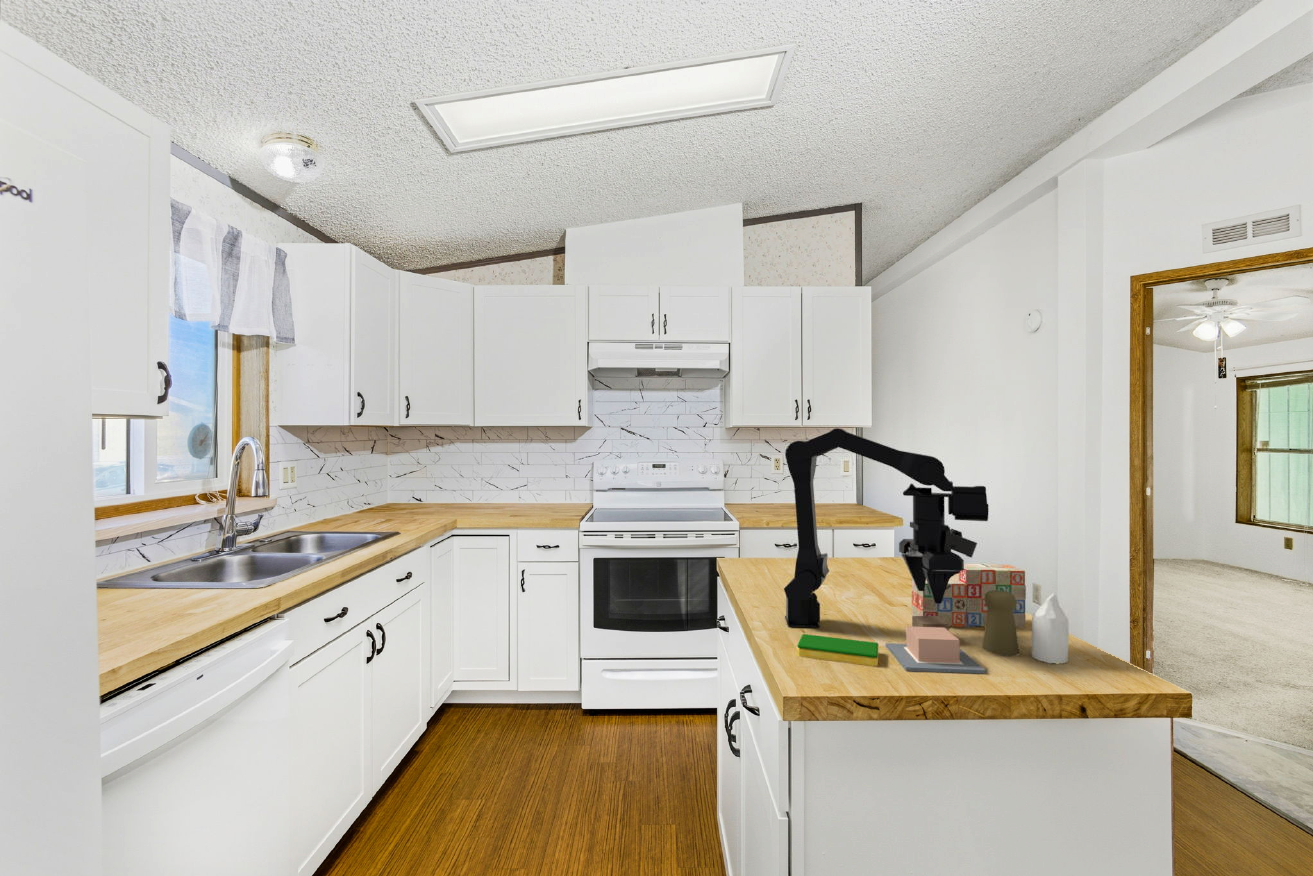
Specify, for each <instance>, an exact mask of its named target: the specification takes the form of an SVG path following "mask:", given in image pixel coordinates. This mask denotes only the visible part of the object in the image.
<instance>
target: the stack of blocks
mask: <svg viewBox="0 0 1313 876" xmlns="http://www.w3.org/2000/svg"><path fill="white" fill-rule="evenodd" d="M992 590H1000V591H1005V592H1009V593H1011V594H1013V595H1014V596H1015V598H1016V608H1015V609H1014V610H1013V614H1014V620H1015V627H1016V628H1026V624H1027V623H1026V599H1027V598H1026V597H1027V594H1026V593H1027V586H1026V571H1025V570H1023V569H1021V568H1019V567H1016V566H1013V565H1010V564H996V563H964V570H963V571H960V573H959V574H955V575H954V576H952V577H951V578H950V579H949V582H948V584H947V587H946V590H945V593H944V596H943V599H942V602H941V603H940V604H936V603H935V602H934V600H933V597H932V594H931V591H930V588H929V586H928V583H927V580H926V582H925V588H924V591H918V589H917V587H916V585H915V582H914V580H913V578H912V577H911V616H938V617H939V618H941V619H942V620H944V621H945V622H947V623H948V624H949V627H975V626H986V619H987V612H988V607H987V606H986V604H985V594H986V593H987V592H988V591H992Z"/></svg>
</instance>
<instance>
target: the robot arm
mask: <svg viewBox="0 0 1313 876" xmlns="http://www.w3.org/2000/svg"><path fill="white" fill-rule="evenodd" d="M837 448H839V449H842V450H845V451H848V452H851V453H854V454H856V455H859V456H861V457H864V458H867V459H870V460H871V461H875V462H877V463H880V464H884V465H886V466H888V467H891V468H893V469H895V470H897V471H898V472H900V473H902V474H903V475H904V476H907V477H909V478H910V479H912V480H913V481H916V482H917V483H918V484H921V485H924V486H927V487H918V486H917V487H916V486H915V485H914V484H913V483H910V484H909V486H908V487H907V488H906V489H905V490H903V492H902V495H903V496H904V497H905V496H907V497H908V496H909V497H910V496H911V497H912V521H910V522H909V527H910V528H911V529H912V538H903V539H902V540H901V541H899V543H898V552H899V553H901V557H902V559H903V561H904V563H905V564H906V567H907V569H908V571H909V573H910V575H911V579H912V578H913V580H914V582H915V585H916V587H917V589H918V591H924V588H925V582H926V580H927V583H928V586H929V588H930V591H931V594H932V597H933V600H934V602H935V603H936V604H940V603H941V602H942V599H943V596H944V593H945V590H946V587H947V584H948V582H949V579H950V578H951V577H953V576H954V575H955V574H959V573H960V571H963V570H964V564H965V563H964V562H965V560H964V559H963V558H962V557H961V556H960V555H959V554H957V553H960V554H962V555H964V556H966V557H968V558H971V559H972V558H973V556H974V552H976V548H977V545H978V542H976V541H974V540H970V539H968V538H966V537H963V532H962V531H960V530H956V529H954V528H951V527H950V526H949V525H948V524H946V523H945V521H946V519H945V513H946V512H945V511H946V510H945V498H947V512H948V515H952V516H953V517H954V518H953V519H954V520H955V521H969V522H971V521H972V522H988V520H989V503H988V496H987V487H986V486H985V485H974V486H961V485H960V486H959V485H954V482H953V480H949V478H947V477H946V475H945V473H946V472H945V466H944V464H943V462H942V461H941V460H940V459H938V458H937V457H935V456H932V455H926V454H922V453H917V452H916V453H915V452H911V451H910V452H909V451H904V450H899V449H896V448H894V447H890V446H889V445H885V444H883V443H879V442H876V441H874V440H871V439H868V438H865V437H862V436H860V435H857V434H854V433H850V432H848V431H847V430H845V429H843V428H839V427H838V428H833V429H831V430H830V431H829V432H825V433H824V434H821V435H818V436H816V437H814V438H811V439H808V440H796V441H793V442H791V443H790V444H789V445H788V446H787V447H786V449H785V454H784V455H785V461H786V464H787V468H788V471H789V474H790V477H791V481H792V482H793V488H794V489H793V490H794V501H795V502H794V503H795V514H796V518H795V519H796V527H797V528H796V531H797V540H798V541H797V544H798V549H797V550H798V551H797V555H796V559H795V567H794V569H795V570H794V577H793V578H792V579H791V580H790V581H789V582H788V584H786V586H785V587H784V588H783V591H784V593H785V615H784V620H785V622H786V624H787V627H789V628H790V627H791V628H819V627H820V622H821V603H820V602H819V600H818V596H817V594H816V593H815V592H816V591H817V590H818V589H819V588H820V587H821V586H822V585H823V583H824V581H825V580H826V578H827V575H828V574H829V572H830V569H829V567H828V555H829V554H828V553H826V552H825V553H821V550H820V547H819V542H818V528H817V516H816V515H817V513H816V503H815V501H816V500H815V491H814V490H815V489H814V479H815V475H816V474H815V473H816V469H817V458H818V457H820V456H822V455H824V454H827V453H828V452H831V451H833V450H836V449H837ZM929 486H934V487H936V488H937V489H939V490H940V491H942V492H933V491H932V490H933V489H932V487H929ZM948 492H949V493H948ZM953 551H954V552H953ZM955 552H957V553H955Z"/></svg>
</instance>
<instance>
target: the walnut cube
mask: <svg viewBox="0 0 1313 876" xmlns="http://www.w3.org/2000/svg"><path fill="white" fill-rule="evenodd" d="M911 616H912V615H911ZM911 624H912V625H911V627H941V628H946V629H947V630H948V631H949V630H950V629H949V627H950V626H949V624H948V623H947V622H945V621H944V620H942V619H941V618H939V617H938V616H912V617H911ZM949 632H950V631H949Z"/></svg>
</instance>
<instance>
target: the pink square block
mask: <svg viewBox="0 0 1313 876" xmlns="http://www.w3.org/2000/svg"><path fill="white" fill-rule="evenodd" d="M905 631H906V644H907V649H908V650H909V651H910V652H911V653H912V654H913V656H914V657H915V658H916V659H917V660H918V661H920V662H946V663H960V662H959V648H960V639H959V638H958V637H956V636H955V635H954V634H953V633H951V632H950V631H948V630H947V629H946V628H941V627H912V626H906V629H905Z"/></svg>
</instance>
